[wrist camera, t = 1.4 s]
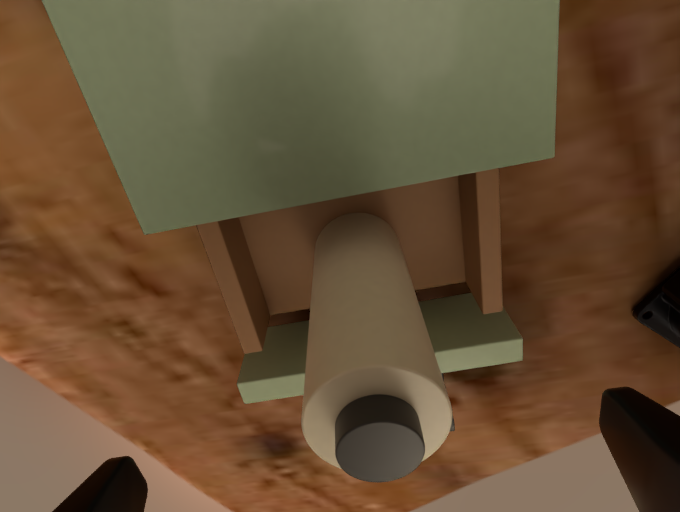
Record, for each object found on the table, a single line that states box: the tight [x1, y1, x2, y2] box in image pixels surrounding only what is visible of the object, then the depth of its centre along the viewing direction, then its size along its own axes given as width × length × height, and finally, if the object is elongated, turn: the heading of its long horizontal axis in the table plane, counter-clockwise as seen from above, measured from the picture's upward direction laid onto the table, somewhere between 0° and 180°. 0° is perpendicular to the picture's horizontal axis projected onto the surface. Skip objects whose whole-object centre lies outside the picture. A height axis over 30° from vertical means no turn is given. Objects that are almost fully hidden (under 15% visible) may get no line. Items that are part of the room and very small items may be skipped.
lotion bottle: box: [301, 213, 452, 482], centre depth 14 cm, size 4×4×10 cm
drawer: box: [196, 168, 523, 432], centre depth 18 cm, size 18×12×4 cm
